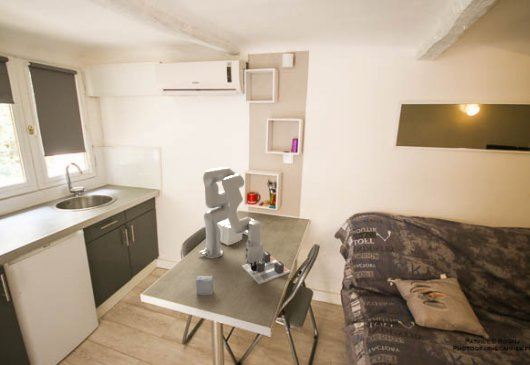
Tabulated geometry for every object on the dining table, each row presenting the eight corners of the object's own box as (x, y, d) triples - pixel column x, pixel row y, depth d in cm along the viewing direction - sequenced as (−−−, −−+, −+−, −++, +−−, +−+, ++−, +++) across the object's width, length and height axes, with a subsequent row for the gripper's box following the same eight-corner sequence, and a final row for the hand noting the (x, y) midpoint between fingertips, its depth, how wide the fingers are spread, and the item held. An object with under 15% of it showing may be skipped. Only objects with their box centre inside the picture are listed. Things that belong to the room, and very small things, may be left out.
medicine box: (213, 289, 134) (213, 275, 132) (211, 295, 130) (211, 280, 128) (198, 289, 134) (197, 275, 132) (196, 295, 129) (195, 280, 127)
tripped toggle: (259, 272, 148) (259, 264, 147) (255, 269, 152) (255, 261, 150) (264, 270, 151) (264, 262, 149) (261, 267, 154) (261, 259, 153)
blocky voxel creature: (258, 239, 198) (232, 249, 177) (236, 230, 214) (210, 238, 192) (260, 221, 196) (233, 229, 174) (238, 213, 211) (211, 219, 190)
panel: (259, 284, 140) (259, 274, 138) (241, 267, 156) (242, 257, 154) (289, 272, 152) (290, 263, 150) (270, 257, 168) (271, 249, 166)
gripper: (246, 247, 137) (245, 277, 141) (268, 241, 145) (267, 269, 149) (239, 242, 143) (239, 270, 147) (261, 236, 151) (261, 263, 155)
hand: (253, 270), depth 148 cm, fingers closed
